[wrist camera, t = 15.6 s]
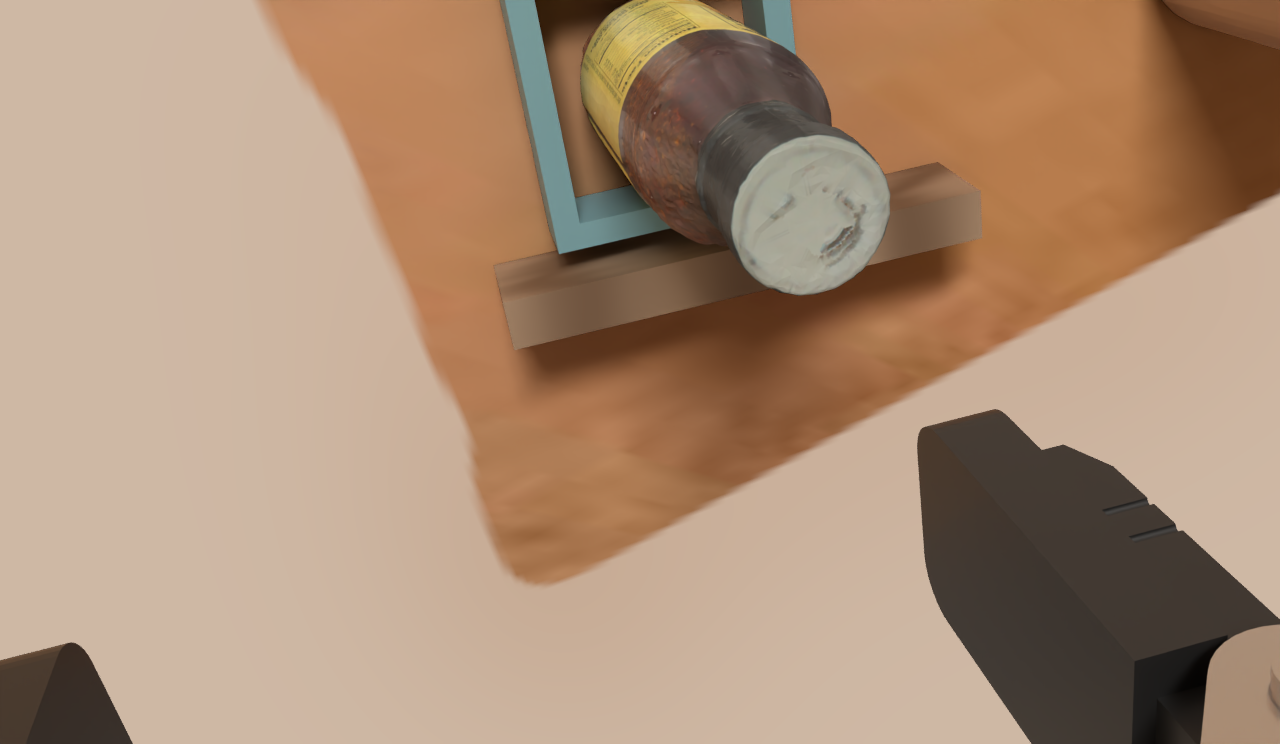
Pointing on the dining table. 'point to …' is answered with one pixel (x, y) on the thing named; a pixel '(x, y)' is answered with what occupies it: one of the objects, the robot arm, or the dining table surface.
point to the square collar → (566, 215)
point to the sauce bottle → (733, 143)
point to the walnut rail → (704, 264)
